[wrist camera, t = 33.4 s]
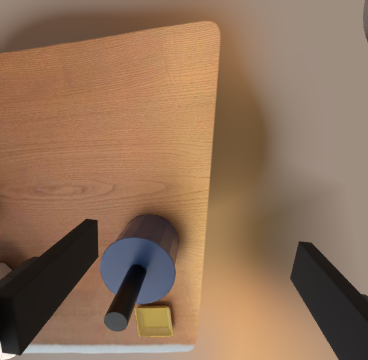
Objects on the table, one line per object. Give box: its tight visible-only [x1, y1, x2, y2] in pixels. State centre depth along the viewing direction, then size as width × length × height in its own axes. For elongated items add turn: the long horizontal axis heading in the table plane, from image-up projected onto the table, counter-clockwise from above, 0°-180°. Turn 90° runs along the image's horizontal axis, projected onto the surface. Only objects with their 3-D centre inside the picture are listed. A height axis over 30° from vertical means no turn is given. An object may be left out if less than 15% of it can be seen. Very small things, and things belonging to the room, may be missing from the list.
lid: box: [100, 236, 176, 331], centre depth 34 cm, size 14×14×11 cm
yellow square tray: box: [135, 305, 173, 337], centre depth 53 cm, size 9×9×2 cm
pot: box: [116, 214, 179, 264], centre depth 43 cm, size 13×13×10 cm
